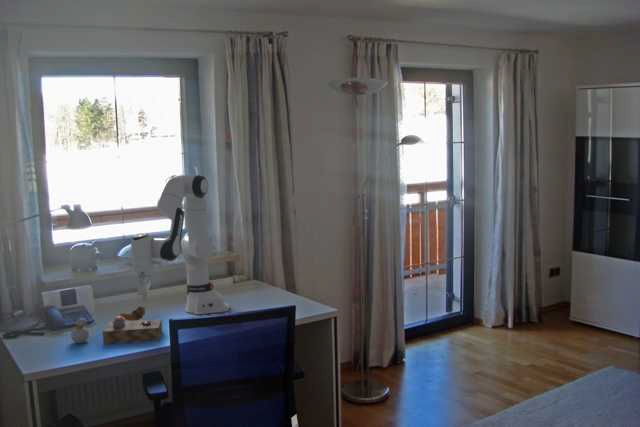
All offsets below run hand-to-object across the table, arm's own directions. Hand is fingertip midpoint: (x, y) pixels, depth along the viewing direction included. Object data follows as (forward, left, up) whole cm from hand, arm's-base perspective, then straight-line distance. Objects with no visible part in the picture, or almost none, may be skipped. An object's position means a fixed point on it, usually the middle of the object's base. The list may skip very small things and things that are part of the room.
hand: (145, 299), depth 298 cm
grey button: (0, 0, -16) cm, 16 cm away
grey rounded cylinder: (+12, 0, -13) cm, 18 cm away
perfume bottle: (+28, +2, -18) cm, 33 cm away
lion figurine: (+10, -20, -18) cm, 28 cm away
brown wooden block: (+6, 0, -17) cm, 18 cm away
